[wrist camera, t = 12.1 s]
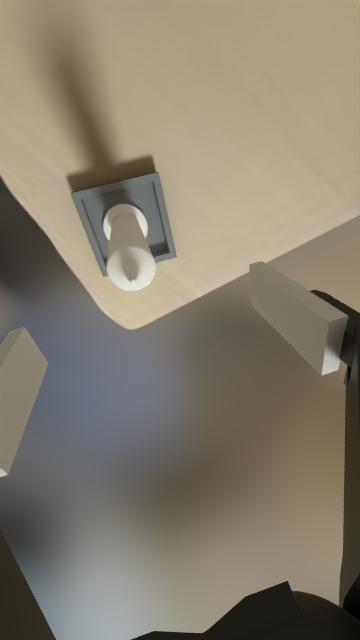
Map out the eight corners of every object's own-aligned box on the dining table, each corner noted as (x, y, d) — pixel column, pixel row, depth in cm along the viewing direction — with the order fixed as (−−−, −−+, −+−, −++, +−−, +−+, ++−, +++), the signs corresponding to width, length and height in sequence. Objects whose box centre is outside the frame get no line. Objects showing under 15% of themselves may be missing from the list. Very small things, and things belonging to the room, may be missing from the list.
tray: (73, 192, 38) (70, 193, 36) (156, 172, 39) (158, 172, 37) (104, 272, 45) (103, 276, 43) (174, 253, 46) (176, 257, 44)
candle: (94, 215, 40) (67, 262, 19) (135, 195, 40) (154, 220, 19) (117, 255, 44) (116, 332, 22) (154, 237, 43) (188, 298, 22)
